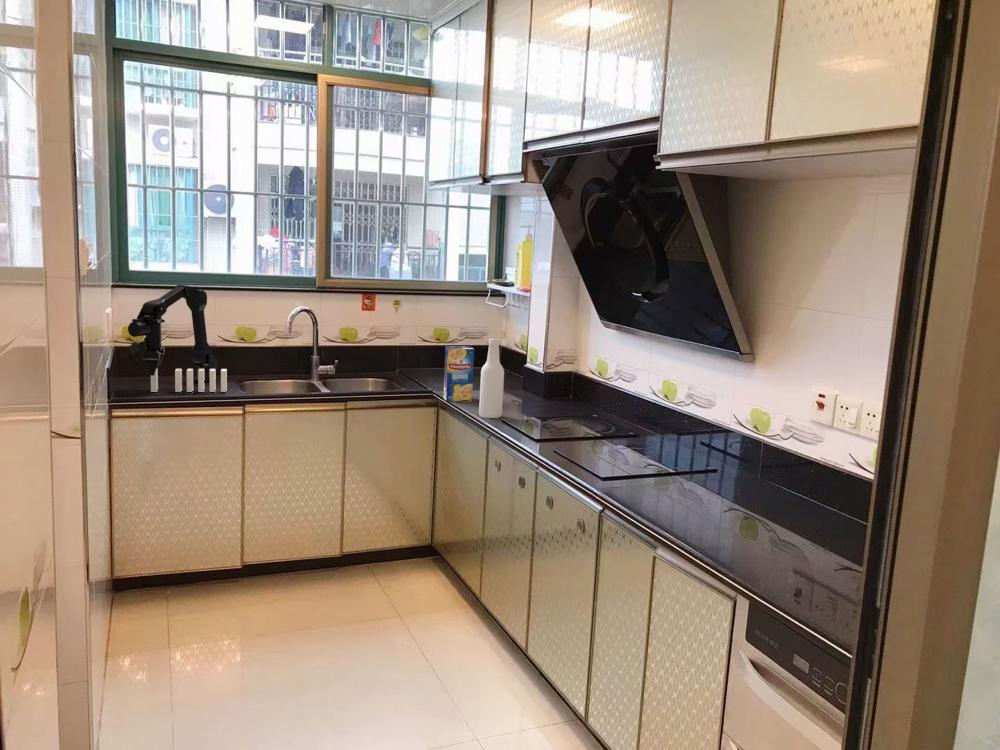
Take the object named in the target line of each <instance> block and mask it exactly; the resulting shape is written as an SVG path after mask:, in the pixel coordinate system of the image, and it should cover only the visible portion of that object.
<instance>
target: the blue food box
mask: <svg viewBox="0 0 1000 750" xmlns="http://www.w3.org/2000/svg"><path fill="white" fill-rule="evenodd" d="M444 355H445V356H444V376H443V377H444V378H443V397H442V398H443V399H444V400H445V401H446V402H463V401H462V400H470V401H469V402H472V401H473V385H474V367H475V366H474V364H475V363H474V362H475V361H474V360H475V348H473V347H472V346H461V345H460V346H458V345H457V346H455V345H453V346H451V345H450V346H449V345H445V354H444ZM460 400H461V401H460Z"/></svg>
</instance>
